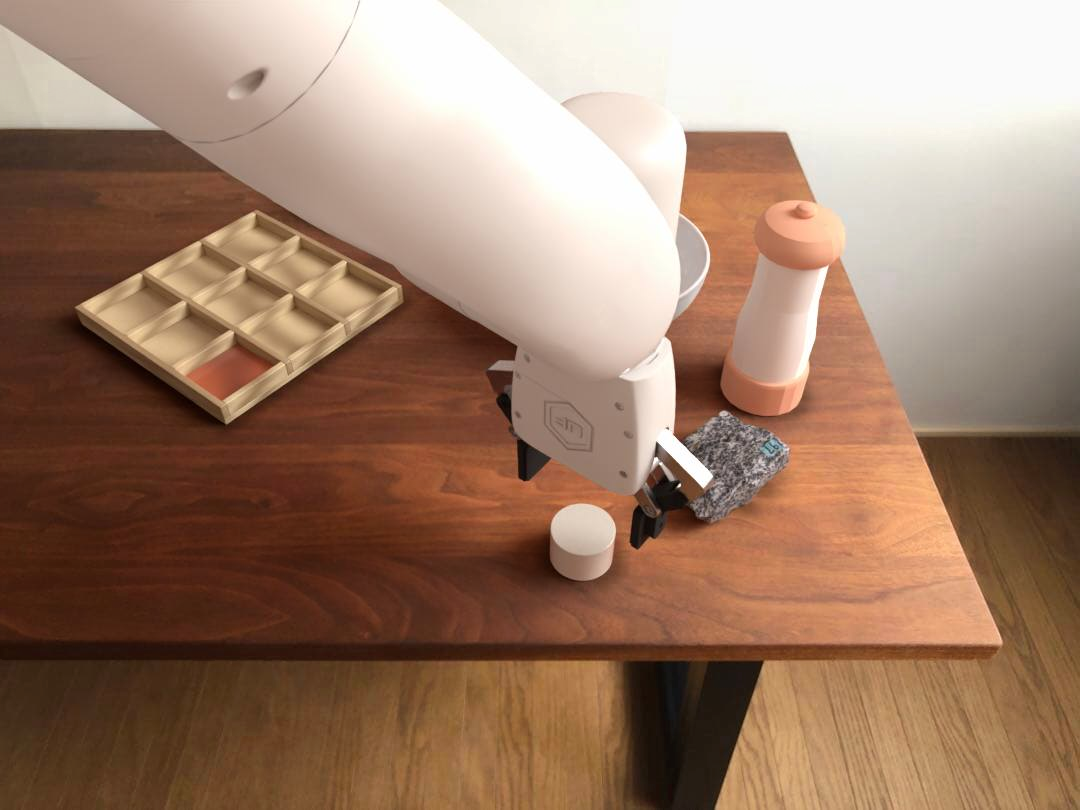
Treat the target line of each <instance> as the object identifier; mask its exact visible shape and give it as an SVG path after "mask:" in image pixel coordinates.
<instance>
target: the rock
mask: <svg viewBox="0 0 1080 810" xmlns="http://www.w3.org/2000/svg"><path fill="white" fill-rule="evenodd" d="M679 442H680V443H681V444H682V445H683V446H684V447H685V448H686V449H687V450H688V451H689V452H690V453H691V454H692V455H693V456H694V457H695V458H696V459H697V460H698V461H699V462H700V463H701V464H702V465H703V466H704V467H705V468H706V469H707V470H708V471H709V472H710V473H711V474H712V475H713V477H714V482H713V483H712V484H711V486H710V487H709V488H708V489H707V490H706V492H705V493H704V494H703V495H702V496H700V497H699V498H697V499H696V500H694V501H693V502H690V503H689V504H687V505H686V506H687V507H688V508H689V509H691V511H693V512H694V515H695V518H697V519H698V520H703V521H704V522H705V523H707V524H713V523H715V522H718V521H719V520H723V519H725V518H727V516H728V515H729V514H730V513H731V512H732V511H733V510H737V509H738V510H739V508H741V507H743V506H744V505H748V504H750V502H751V501H752V500H753V499H754V498H755V496H756V495H757V493H758V492H759V491H760V490H761V488H763V487H764V486H765V485H766V484H767V483H768V482H769V481H771V480H772V479H773V478H774V477H775V476H776V475H777V474H779V473H780V472H781V471H783V470H784V469H785V468H786V467H787V466H788V465H789V463H790V454H791V448H790V447H789V446H788V444H786V443H785V442H784V441H783V440H782V439H780V438H779V437H777V436H776V435H775V434H774V433H773V432H772V431H770V430H769V429H767V428H764V427H758V426H756V425H754V424H749V423H744V422H742V420H740V419H739V418H738V417H737V416H734V415H732V414H731V413H730V411H728V410H726V409H724V410H722V411H720V412H718V413H717V414H716V415H714V416H712V417H711V418H709V420H707V421H706V422H704V423H703V425H701V426H700V427H698V428H697V429H695V430H694V431H692V433H691V434H689V435H687V436H686V438H685V439H684V440H682V441H679ZM671 473H672V472H671ZM672 474H673V473H672ZM673 476H674V478H675V479H676V480H678V479H677V478H676V477H675V475H674V474H673Z"/></svg>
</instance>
